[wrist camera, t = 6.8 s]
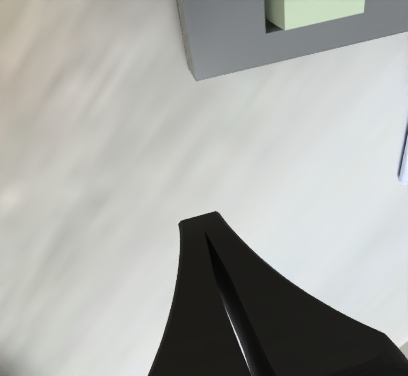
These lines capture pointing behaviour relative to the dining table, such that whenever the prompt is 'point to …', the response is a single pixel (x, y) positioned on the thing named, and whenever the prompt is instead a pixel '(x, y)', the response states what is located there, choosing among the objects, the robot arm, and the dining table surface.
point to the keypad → (272, 33)
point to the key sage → (309, 11)
